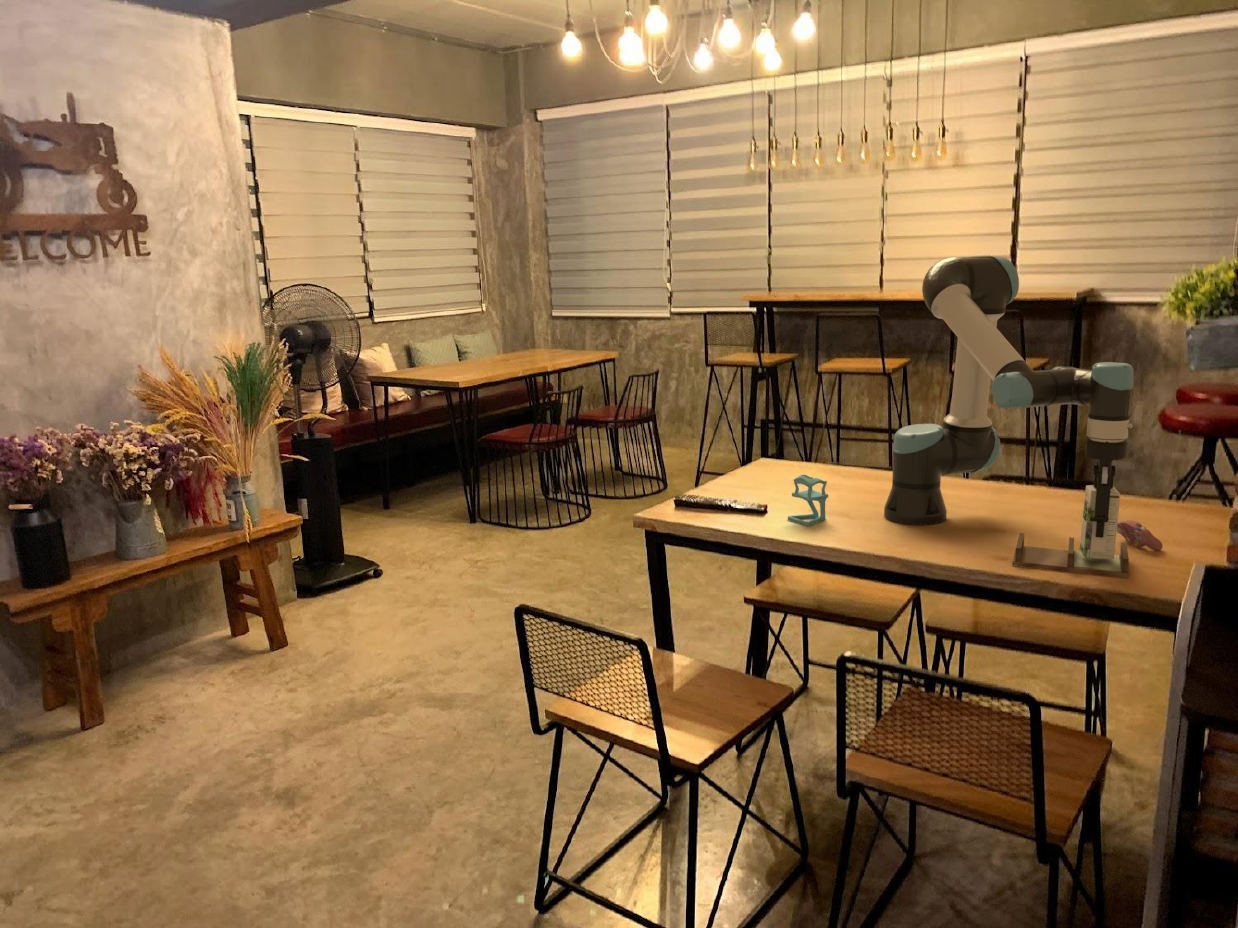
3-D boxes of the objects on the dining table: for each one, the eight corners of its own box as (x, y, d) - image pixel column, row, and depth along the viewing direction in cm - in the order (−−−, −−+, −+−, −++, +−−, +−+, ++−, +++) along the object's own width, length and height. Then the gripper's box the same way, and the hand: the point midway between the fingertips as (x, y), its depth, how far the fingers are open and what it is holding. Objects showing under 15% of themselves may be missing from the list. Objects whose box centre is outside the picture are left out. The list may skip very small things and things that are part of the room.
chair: (832, 521, 232) (833, 475, 230) (807, 526, 228) (808, 479, 225) (811, 514, 238) (812, 470, 236) (787, 519, 234) (787, 474, 232)
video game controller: (1119, 545, 211) (1108, 520, 209) (1136, 536, 211) (1126, 510, 209) (1147, 559, 201) (1137, 532, 199) (1166, 549, 201) (1155, 522, 199)
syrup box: (1078, 549, 196) (1084, 484, 193) (1109, 551, 194) (1115, 485, 191) (1084, 558, 191) (1089, 491, 188) (1115, 559, 189) (1121, 492, 186)
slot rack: (1012, 565, 195) (1013, 547, 194) (1016, 549, 205) (1017, 532, 204) (1129, 578, 185) (1131, 559, 184) (1127, 560, 196) (1129, 542, 195)
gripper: (1129, 448, 177) (1119, 562, 182) (1126, 431, 194) (1116, 535, 199) (1086, 446, 180) (1077, 557, 185) (1086, 429, 197) (1078, 531, 202)
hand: (1097, 546), depth 192 cm, fingers closed on syrup box, 6 cm apart
